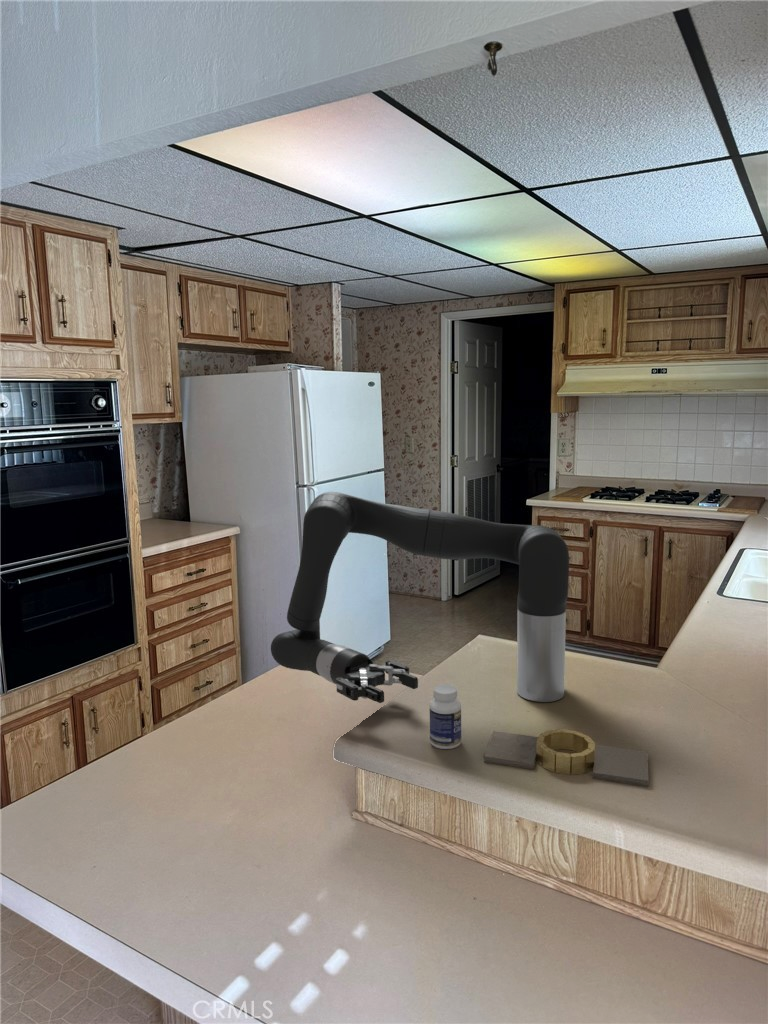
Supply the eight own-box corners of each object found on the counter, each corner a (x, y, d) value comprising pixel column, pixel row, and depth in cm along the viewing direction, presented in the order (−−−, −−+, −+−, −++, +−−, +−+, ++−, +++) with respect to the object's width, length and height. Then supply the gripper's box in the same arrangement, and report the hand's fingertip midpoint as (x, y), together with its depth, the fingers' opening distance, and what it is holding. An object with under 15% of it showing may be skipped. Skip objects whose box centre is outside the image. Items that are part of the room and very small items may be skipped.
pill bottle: (459, 751, 116) (459, 696, 115) (427, 748, 117) (427, 694, 116) (462, 736, 121) (462, 683, 120) (432, 733, 122) (431, 681, 121)
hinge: (493, 736, 121) (493, 720, 121) (647, 757, 113) (647, 740, 112) (483, 761, 113) (483, 744, 112) (648, 786, 104) (649, 768, 104)
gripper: (314, 658, 133) (370, 682, 121) (370, 639, 142) (427, 660, 130) (315, 695, 134) (371, 722, 122) (370, 674, 143) (427, 698, 132)
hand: (400, 690), depth 126 cm, fingers open, 8 cm apart
